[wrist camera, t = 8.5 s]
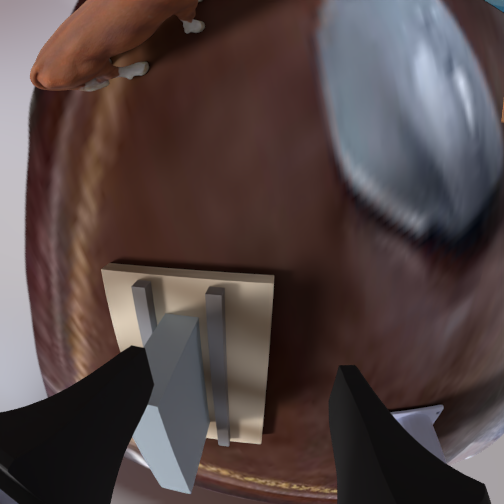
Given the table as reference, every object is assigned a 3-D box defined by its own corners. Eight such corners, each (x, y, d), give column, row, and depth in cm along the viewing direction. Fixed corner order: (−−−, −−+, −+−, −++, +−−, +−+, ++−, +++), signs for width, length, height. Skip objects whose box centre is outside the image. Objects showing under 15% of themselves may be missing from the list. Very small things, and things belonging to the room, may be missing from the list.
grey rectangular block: (210, 422, 23) (191, 493, 16) (185, 417, 23) (161, 487, 16) (198, 317, 19) (157, 406, 11) (165, 313, 19) (113, 395, 12)
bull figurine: (281, 9, 13) (279, -71, 5) (101, 111, 16) (12, 106, 8) (249, -32, 11) (230, -108, 4) (82, 67, 15) (0, 50, 7)
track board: (261, 434, 25) (260, 451, 23) (149, 417, 26) (143, 431, 24) (274, 275, 19) (273, 291, 16) (109, 262, 20) (93, 275, 17)
